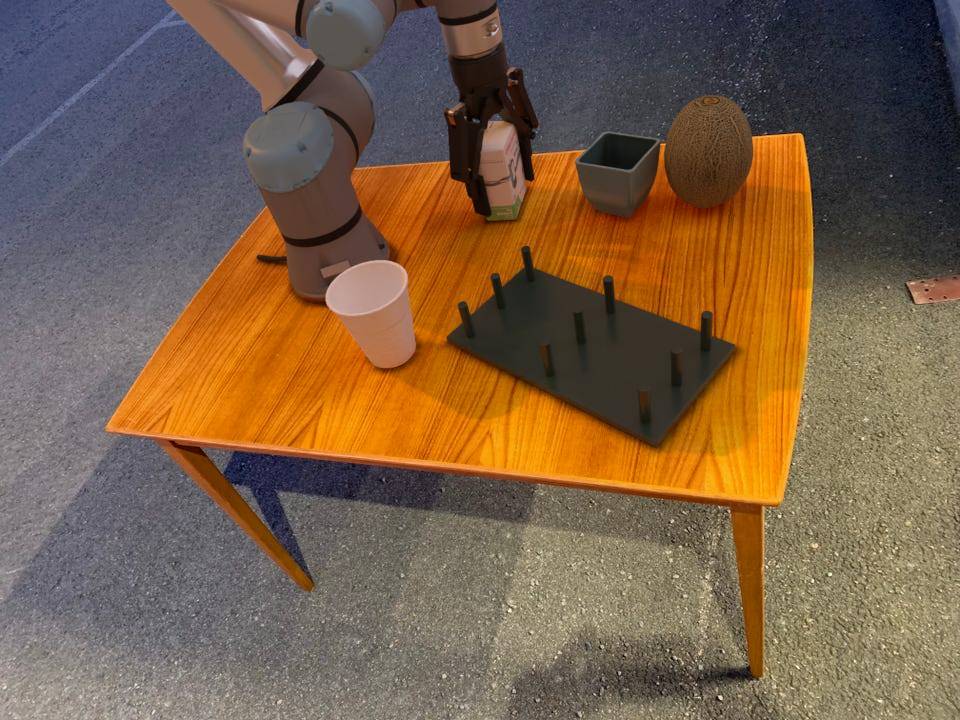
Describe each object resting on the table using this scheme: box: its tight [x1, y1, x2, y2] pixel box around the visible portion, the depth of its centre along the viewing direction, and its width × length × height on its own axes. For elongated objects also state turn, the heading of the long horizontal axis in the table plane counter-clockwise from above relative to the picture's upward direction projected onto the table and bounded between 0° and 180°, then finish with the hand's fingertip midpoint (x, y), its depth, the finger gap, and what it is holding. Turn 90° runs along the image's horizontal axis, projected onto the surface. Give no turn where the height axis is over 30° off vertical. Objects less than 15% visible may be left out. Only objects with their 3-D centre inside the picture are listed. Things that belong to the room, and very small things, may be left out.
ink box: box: [478, 120, 527, 222], centre depth 102 cm, size 9×5×12 cm, turn 167°
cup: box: [325, 260, 417, 369], centre depth 84 cm, size 10×10×11 cm
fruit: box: [663, 94, 754, 209], centre depth 92 cm, size 11×11×15 cm
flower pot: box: [574, 131, 662, 218], centre depth 97 cm, size 9×9×9 cm
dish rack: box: [445, 245, 737, 449], centre depth 80 cm, size 30×16×6 cm, turn 48°
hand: (505, 195), depth 105 cm, fingers closed on ink box, 9 cm apart
